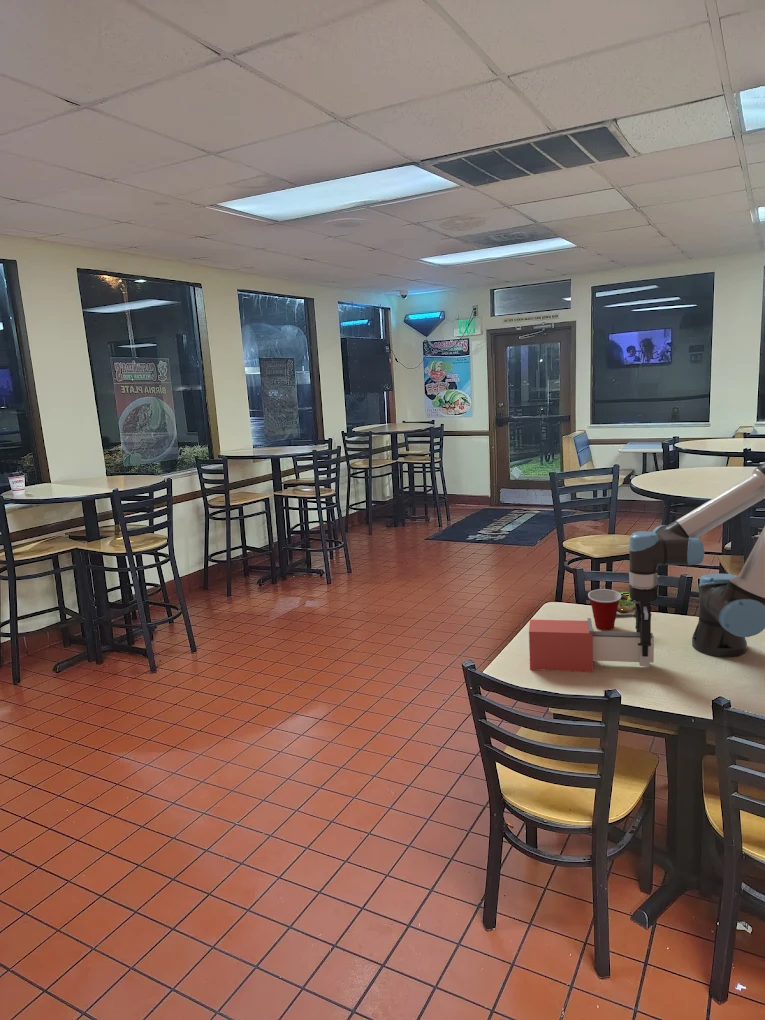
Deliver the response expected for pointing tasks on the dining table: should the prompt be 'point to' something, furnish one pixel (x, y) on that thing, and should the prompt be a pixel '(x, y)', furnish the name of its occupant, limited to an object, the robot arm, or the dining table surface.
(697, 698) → the dining table surface
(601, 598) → the plastic cup
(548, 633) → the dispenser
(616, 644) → the white rectangular block
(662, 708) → the dining table surface
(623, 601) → the salad plate
